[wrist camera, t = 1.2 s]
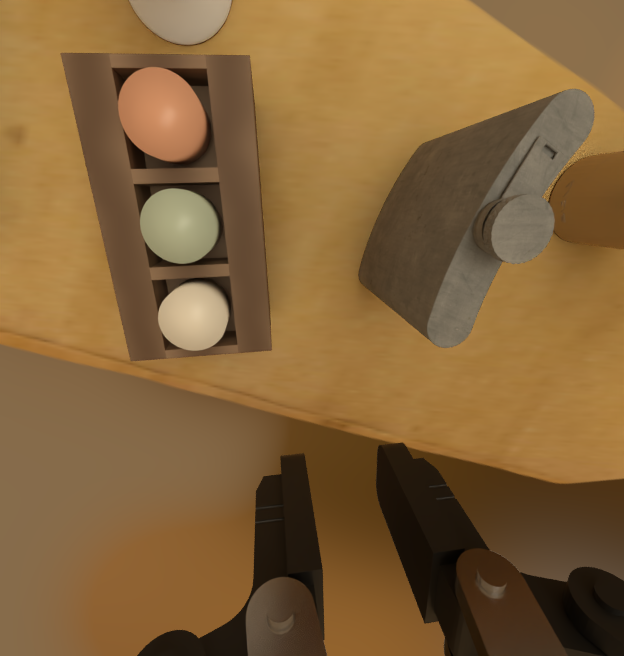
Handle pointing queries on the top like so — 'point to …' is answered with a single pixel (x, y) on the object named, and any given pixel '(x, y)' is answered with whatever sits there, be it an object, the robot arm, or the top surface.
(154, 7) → the white bowl
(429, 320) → the hip flask
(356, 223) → the top surface
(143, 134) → the orange brown egg
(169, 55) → the three egg wooden crate
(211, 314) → the pale beige egg
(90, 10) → the top surface
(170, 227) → the pale green egg
